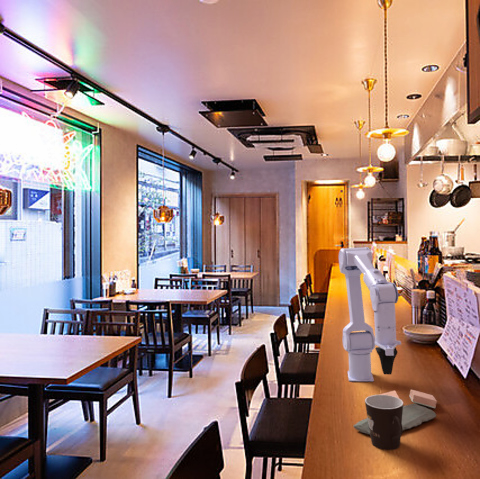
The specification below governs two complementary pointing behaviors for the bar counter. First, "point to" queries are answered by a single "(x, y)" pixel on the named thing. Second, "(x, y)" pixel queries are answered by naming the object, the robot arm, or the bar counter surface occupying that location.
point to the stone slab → (404, 418)
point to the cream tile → (391, 394)
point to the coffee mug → (384, 420)
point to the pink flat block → (423, 398)
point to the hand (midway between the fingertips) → (387, 373)
